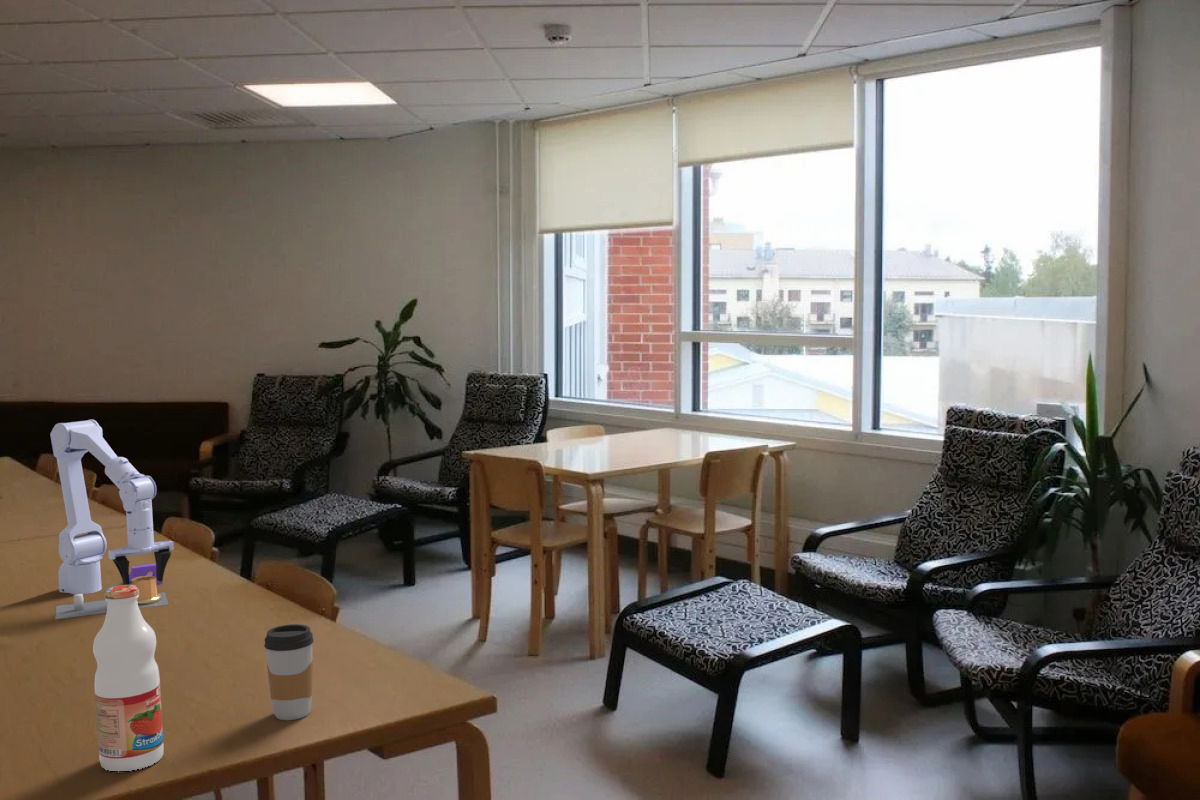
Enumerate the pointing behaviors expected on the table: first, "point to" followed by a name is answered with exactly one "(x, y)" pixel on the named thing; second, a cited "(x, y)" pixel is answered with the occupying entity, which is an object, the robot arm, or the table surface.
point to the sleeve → (145, 587)
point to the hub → (149, 600)
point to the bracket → (143, 572)
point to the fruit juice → (127, 686)
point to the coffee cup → (290, 670)
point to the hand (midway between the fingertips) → (143, 583)
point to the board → (93, 607)
